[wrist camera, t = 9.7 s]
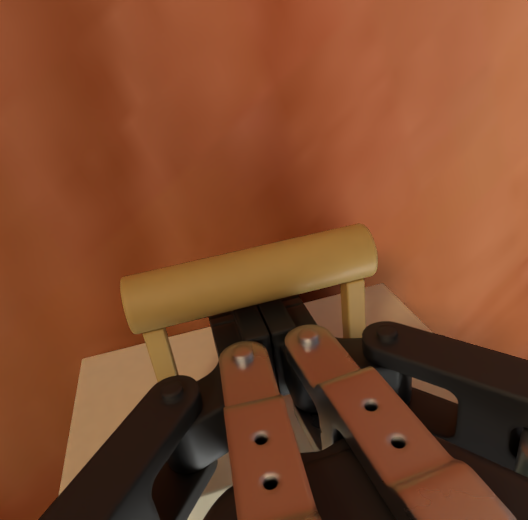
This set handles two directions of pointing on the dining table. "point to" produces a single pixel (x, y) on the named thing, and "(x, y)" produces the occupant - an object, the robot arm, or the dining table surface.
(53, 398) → the dining table surface
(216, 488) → the drawer
